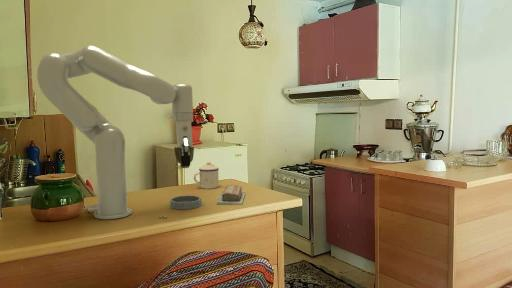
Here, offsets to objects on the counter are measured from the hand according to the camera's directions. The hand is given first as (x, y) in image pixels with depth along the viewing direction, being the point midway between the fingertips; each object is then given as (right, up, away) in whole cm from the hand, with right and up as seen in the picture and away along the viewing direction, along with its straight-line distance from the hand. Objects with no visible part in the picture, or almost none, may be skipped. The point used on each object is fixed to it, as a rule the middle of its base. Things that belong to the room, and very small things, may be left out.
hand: (184, 164), depth 150 cm
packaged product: (+17, -15, +11) cm, 25 cm away
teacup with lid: (+4, -13, +33) cm, 36 cm away
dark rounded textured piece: (0, -2, 0) cm, 2 cm away
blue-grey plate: (0, -16, +2) cm, 16 cm away
